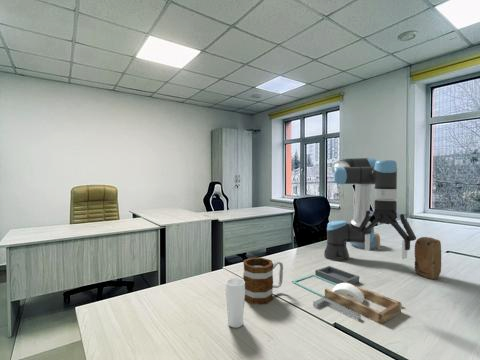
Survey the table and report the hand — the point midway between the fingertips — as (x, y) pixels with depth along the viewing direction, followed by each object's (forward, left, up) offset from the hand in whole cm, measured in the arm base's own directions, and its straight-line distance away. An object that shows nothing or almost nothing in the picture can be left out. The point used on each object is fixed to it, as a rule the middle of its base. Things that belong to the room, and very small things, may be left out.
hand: (384, 254), depth 98 cm
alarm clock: (-53, +80, -22) cm, 98 cm away
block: (-4, +53, -22) cm, 57 cm away
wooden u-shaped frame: (-7, -4, -22) cm, 23 cm away
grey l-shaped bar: (-9, -18, -22) cm, 30 cm away
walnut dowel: (-3, +8, -21) cm, 22 cm away
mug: (-35, -32, -22) cm, 53 cm away
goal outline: (-28, -4, -22) cm, 36 cm away
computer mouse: (-13, -4, -22) cm, 26 cm away
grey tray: (-28, +10, -22) cm, 37 cm away
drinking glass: (-24, -54, -22) cm, 63 cm away
